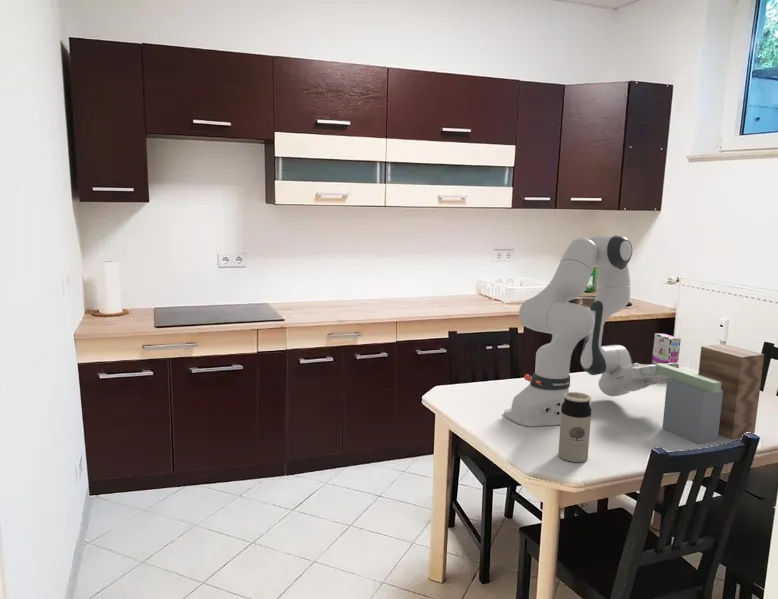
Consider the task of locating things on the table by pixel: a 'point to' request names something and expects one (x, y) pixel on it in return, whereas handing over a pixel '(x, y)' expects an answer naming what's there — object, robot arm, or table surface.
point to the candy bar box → (665, 349)
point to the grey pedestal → (692, 412)
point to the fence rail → (688, 378)
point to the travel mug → (575, 427)
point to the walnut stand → (734, 385)
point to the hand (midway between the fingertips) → (666, 366)
